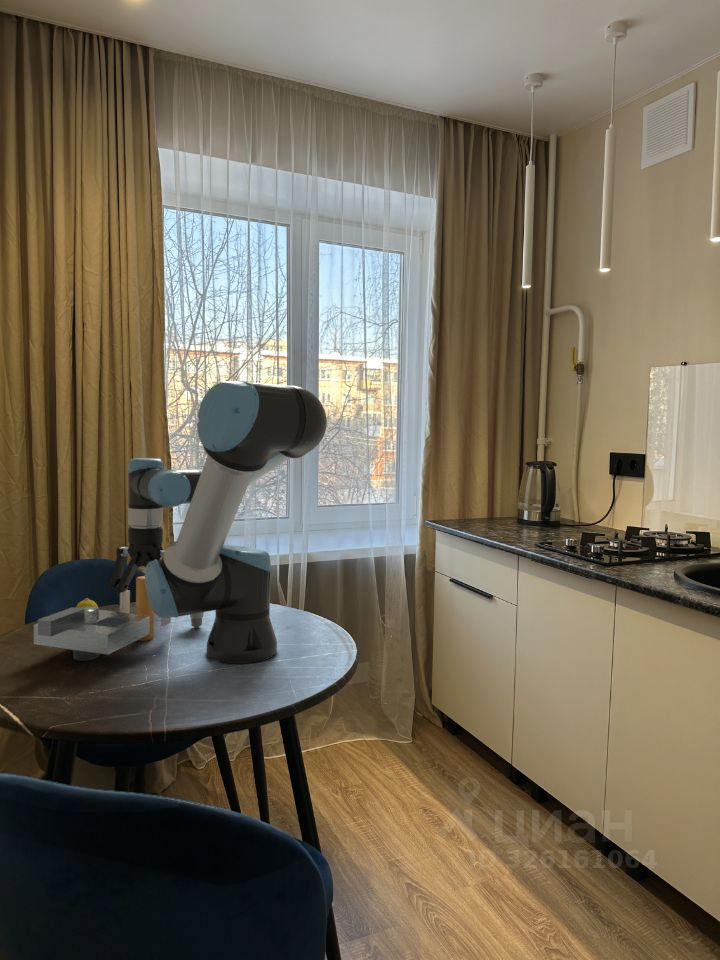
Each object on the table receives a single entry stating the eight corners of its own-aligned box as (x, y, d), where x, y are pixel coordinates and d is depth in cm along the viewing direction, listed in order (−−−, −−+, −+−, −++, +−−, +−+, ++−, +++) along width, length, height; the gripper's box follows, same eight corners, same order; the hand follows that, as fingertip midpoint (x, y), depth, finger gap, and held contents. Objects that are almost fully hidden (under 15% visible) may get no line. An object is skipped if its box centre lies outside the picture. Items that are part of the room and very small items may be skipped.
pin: (157, 636, 153) (158, 576, 152) (147, 641, 149) (147, 580, 148) (142, 634, 154) (142, 575, 153) (132, 639, 150) (132, 579, 149)
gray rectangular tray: (149, 652, 142) (149, 602, 141) (90, 683, 124) (90, 626, 123) (81, 642, 147) (80, 594, 146) (14, 671, 129) (14, 616, 128)
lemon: (90, 636, 151) (90, 602, 151) (68, 634, 153) (68, 600, 152) (104, 629, 157) (104, 596, 156) (83, 627, 158) (83, 594, 157)
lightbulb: (178, 629, 159) (178, 584, 158) (193, 622, 164) (194, 579, 163) (199, 633, 156) (200, 587, 155) (214, 626, 162) (215, 582, 161)
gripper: (198, 527, 150) (197, 622, 152) (113, 520, 156) (113, 612, 158) (181, 531, 143) (180, 631, 145) (92, 524, 149) (92, 620, 151)
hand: (145, 621), depth 151 cm, fingers open, 10 cm apart
